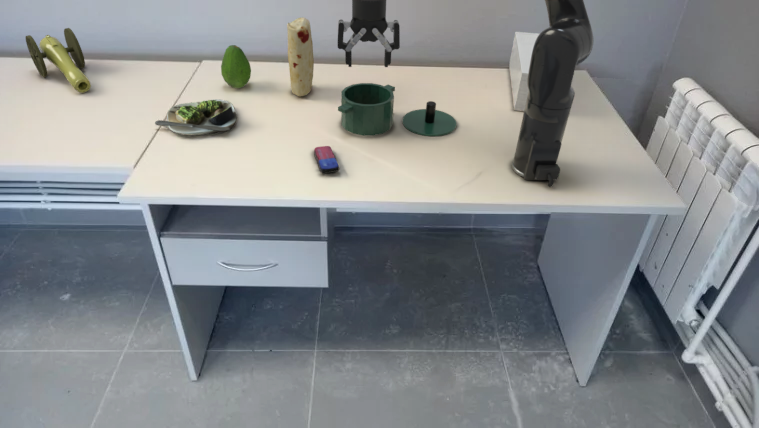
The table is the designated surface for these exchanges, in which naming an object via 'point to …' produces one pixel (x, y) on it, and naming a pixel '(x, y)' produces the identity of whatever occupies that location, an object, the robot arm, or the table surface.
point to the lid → (429, 121)
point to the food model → (300, 56)
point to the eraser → (326, 159)
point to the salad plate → (200, 117)
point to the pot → (367, 108)
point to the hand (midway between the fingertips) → (368, 65)
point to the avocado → (235, 67)
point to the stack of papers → (521, 67)
